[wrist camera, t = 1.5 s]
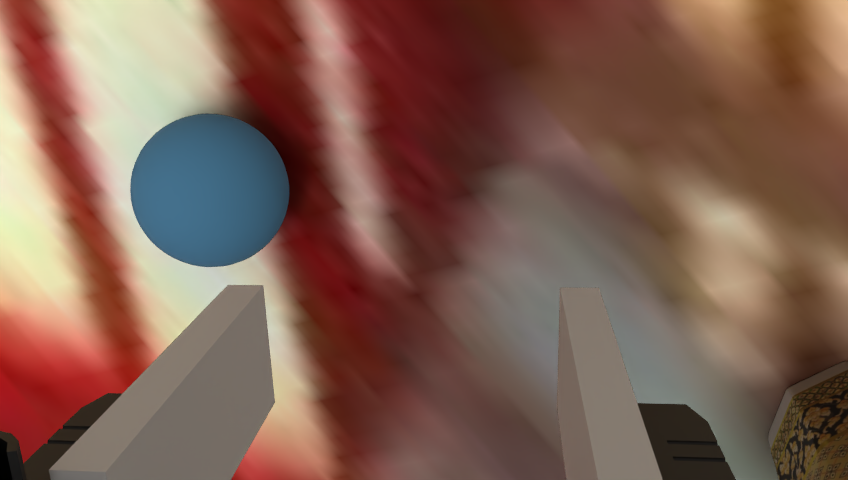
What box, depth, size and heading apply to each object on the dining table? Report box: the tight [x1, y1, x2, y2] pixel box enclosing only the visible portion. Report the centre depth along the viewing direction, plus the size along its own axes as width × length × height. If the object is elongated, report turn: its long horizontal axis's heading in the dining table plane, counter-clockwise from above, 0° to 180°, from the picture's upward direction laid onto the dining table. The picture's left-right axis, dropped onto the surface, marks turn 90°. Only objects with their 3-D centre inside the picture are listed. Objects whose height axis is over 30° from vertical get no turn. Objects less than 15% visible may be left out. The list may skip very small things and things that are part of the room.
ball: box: [131, 114, 289, 267], centre depth 30 cm, size 6×6×6 cm
